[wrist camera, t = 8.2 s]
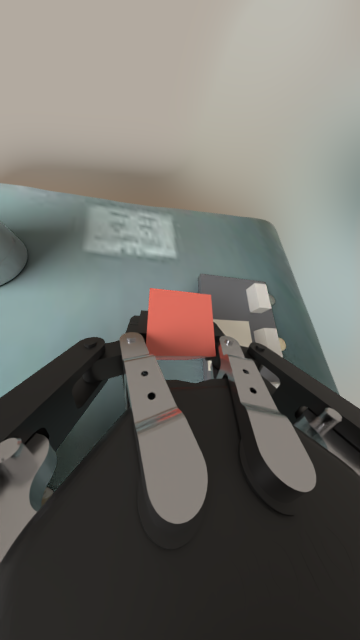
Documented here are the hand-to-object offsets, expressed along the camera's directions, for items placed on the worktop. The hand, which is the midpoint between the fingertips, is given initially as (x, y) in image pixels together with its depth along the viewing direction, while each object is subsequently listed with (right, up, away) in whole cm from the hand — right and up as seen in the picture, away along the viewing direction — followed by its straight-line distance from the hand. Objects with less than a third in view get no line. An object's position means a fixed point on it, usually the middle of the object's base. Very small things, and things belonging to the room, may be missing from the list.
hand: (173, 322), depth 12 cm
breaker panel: (+10, -4, +8) cm, 13 cm away
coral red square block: (-1, -2, +4) cm, 4 cm away
